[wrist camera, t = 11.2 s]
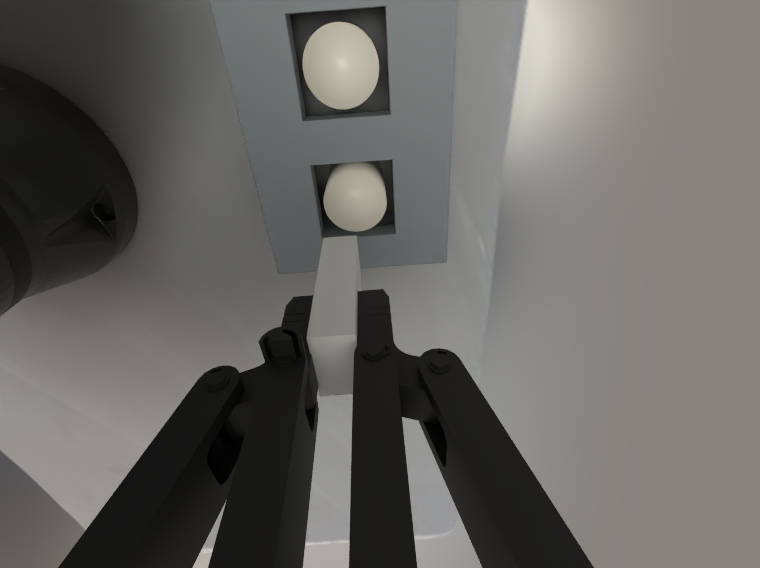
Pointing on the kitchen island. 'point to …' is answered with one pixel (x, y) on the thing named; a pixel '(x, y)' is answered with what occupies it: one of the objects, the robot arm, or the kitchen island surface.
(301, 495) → the robot arm
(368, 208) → the ivory egg
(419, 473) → the kitchen island surface
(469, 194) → the kitchen island surface
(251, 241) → the kitchen island surface
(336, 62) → the cream egg
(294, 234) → the grey socket block
